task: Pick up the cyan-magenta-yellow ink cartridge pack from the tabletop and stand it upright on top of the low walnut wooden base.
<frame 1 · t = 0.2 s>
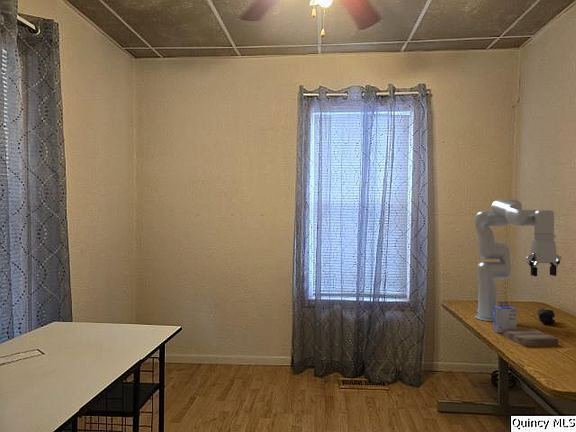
hand: (543, 275, 188), 31 cm above the table, tool pointing down, fingers open, 9 cm apart
walnut base: (529, 340, 194), on the table
end cap: (545, 323, 225), on the table
ink cartridge box: (504, 332, 207), on the table
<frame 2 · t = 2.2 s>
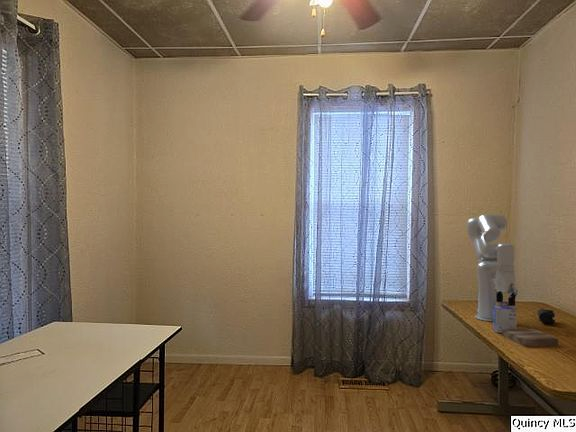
hand: (505, 303, 206), 14 cm above the table, tool pointing down, fingers open, 9 cm apart
nothing on the table moved.
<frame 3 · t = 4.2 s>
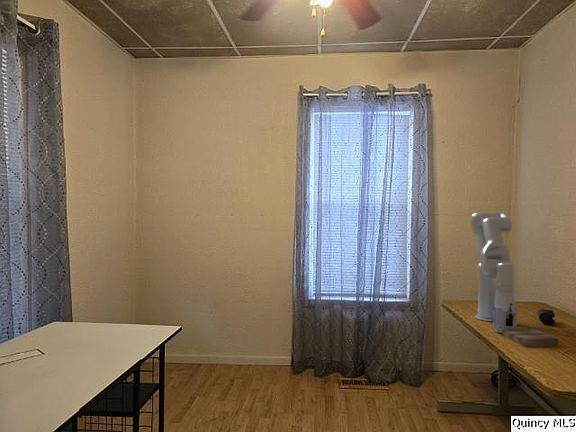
hand: (504, 323, 207), 4 cm above the table, tool pointing down, fingers closed on ink cartridge box, 6 cm apart
ink cartridge box: (504, 332, 207), on the table, touching gripper
everything else where it was.
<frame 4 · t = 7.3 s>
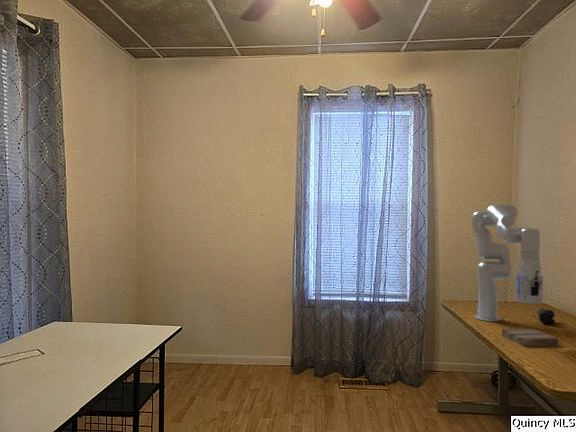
hand: (529, 293, 194), 22 cm above the table, tool pointing down, fingers closed on ink cartridge box, 6 cm apart
ink cartridge box: (529, 302, 194), point 17 cm above the table, touching gripper
everything else where it was.
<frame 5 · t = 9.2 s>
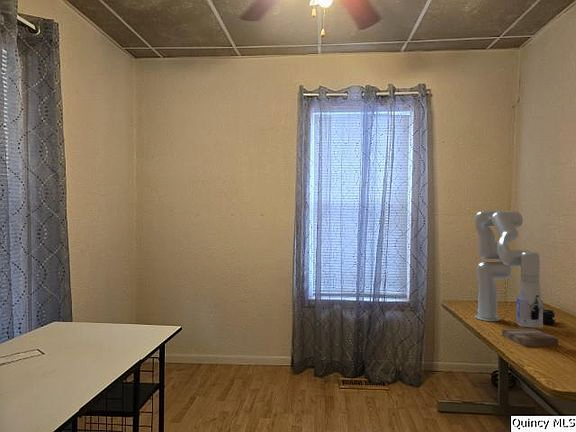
hand: (529, 317, 193), 11 cm above the table, tool pointing down, fingers closed on ink cartridge box, 6 cm apart
ink cartridge box: (529, 326, 193), point 7 cm above the table, touching gripper
everything else where it was.
when the fingers open (8 cm above the table, at t = 10.6 s): ink cartridge box drops 1 cm, resting on walnut base.
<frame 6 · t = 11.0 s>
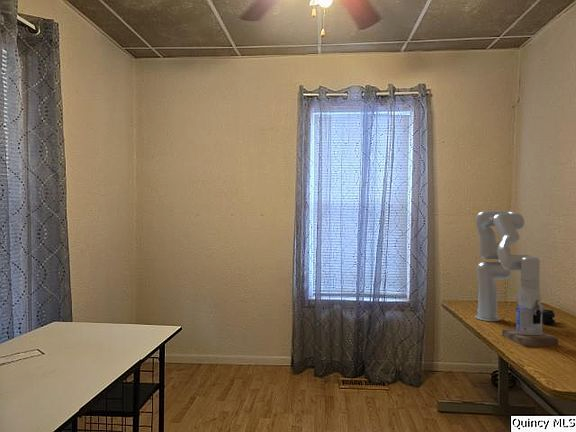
hand: (529, 320, 194), 9 cm above the table, tool pointing down, fingers open, 9 cm apart
ink cartridge box: (528, 334, 194), point 3 cm above the table, touching walnut base
everything else where it was.
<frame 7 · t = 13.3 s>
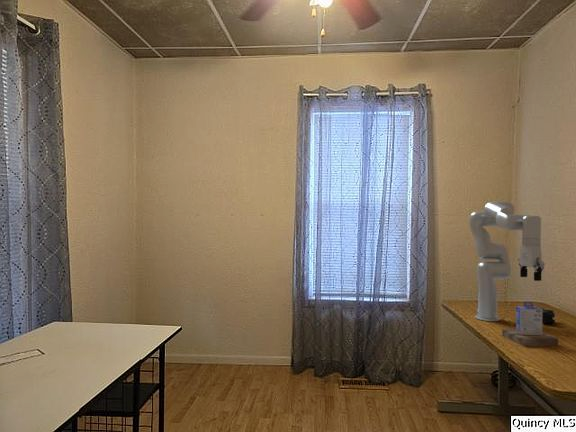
hand: (530, 278, 195), 28 cm above the table, tool pointing down, fingers open, 9 cm apart
nothing on the table moved.
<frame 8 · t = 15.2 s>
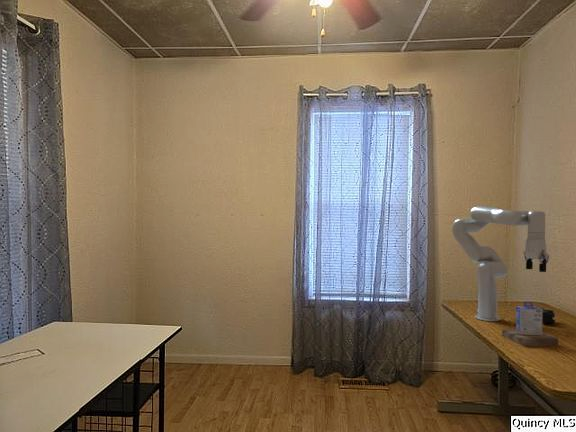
hand: (535, 270, 209), 30 cm above the table, tool pointing down, fingers open, 9 cm apart
nothing on the table moved.
at the end: ink cartridge box inside the target area on the walnut base (0.3 cm from its centre), point 2.8 cm above the walnut base's base; ink cartridge box tilted 0°; the gripper is holding nothing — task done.
